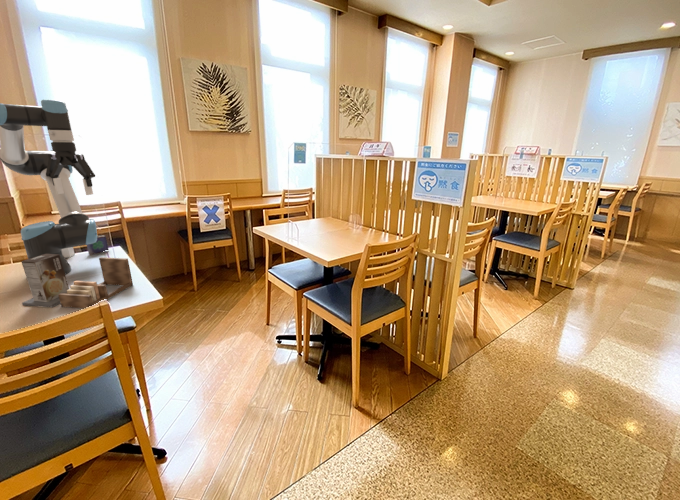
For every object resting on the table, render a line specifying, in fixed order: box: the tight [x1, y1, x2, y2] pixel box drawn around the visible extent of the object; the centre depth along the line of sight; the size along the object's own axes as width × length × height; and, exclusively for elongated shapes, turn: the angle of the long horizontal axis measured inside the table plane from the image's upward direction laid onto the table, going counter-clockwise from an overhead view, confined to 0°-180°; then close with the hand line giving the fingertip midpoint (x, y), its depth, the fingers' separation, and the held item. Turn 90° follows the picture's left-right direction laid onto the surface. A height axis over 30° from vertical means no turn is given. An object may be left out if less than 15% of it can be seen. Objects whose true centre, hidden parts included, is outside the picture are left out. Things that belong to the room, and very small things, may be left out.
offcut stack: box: [67, 280, 100, 302], centre depth 121 cm, size 8×4×8 cm, turn 84°
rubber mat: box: [21, 297, 61, 308], centre depth 125 cm, size 12×12×1 cm
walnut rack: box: [58, 256, 134, 309], centre depth 127 cm, size 12×21×12 cm, turn 174°
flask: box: [86, 234, 110, 256], centre depth 176 cm, size 9×3×11 cm, turn 141°
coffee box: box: [20, 254, 70, 302], centre depth 122 cm, size 9×6×16 cm
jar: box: [61, 247, 75, 259], centre depth 170 cm, size 9×8×12 cm
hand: (75, 194), depth 138 cm, fingers open, 13 cm apart
